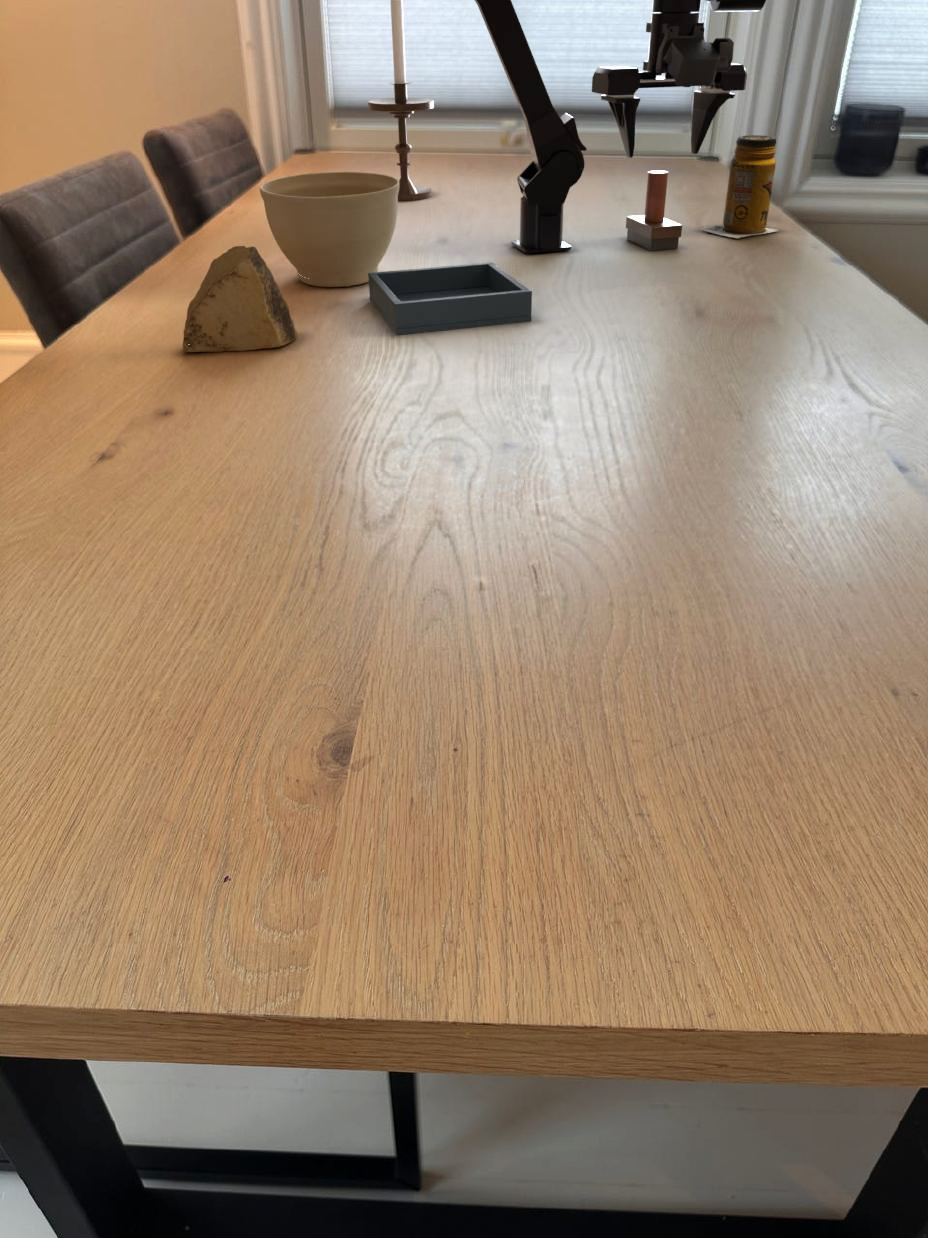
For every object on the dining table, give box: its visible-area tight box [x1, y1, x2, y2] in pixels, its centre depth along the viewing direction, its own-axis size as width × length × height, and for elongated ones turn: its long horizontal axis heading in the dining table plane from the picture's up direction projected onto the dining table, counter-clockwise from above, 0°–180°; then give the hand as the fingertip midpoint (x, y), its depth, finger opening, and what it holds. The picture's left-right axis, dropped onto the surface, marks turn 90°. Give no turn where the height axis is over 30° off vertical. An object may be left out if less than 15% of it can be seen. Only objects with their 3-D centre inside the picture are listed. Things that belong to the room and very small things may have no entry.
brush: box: [625, 169, 683, 252], centre depth 126 cm, size 8×4×9 cm, turn 16°
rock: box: [182, 245, 299, 353], centre depth 93 cm, size 11×9×10 cm
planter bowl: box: [259, 171, 400, 288], centre depth 113 cm, size 16×16×11 cm
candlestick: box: [367, 0, 435, 202], centre depth 153 cm, size 11×11×35 cm
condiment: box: [699, 134, 779, 239], centre depth 131 cm, size 7×8×12 cm
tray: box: [368, 261, 533, 336], centre depth 102 cm, size 14×15×3 cm
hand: (662, 155), depth 122 cm, fingers open, 9 cm apart
